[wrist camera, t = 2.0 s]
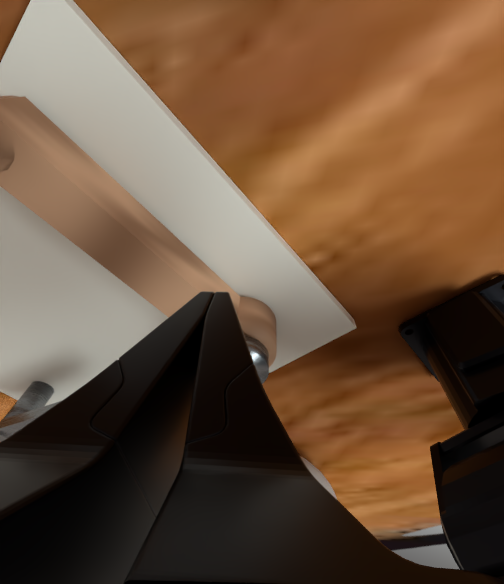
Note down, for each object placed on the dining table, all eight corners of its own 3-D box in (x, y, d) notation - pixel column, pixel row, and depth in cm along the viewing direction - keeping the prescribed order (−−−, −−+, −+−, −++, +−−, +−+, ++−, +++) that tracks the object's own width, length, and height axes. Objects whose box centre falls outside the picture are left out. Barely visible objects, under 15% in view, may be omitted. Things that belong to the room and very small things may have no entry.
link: (289, 326, 19) (291, 356, 17) (241, 354, 20) (238, 384, 18) (16, 64, 12) (-35, 62, 10) (-22, 139, 14) (-73, 150, 12)
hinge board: (353, 319, 19) (356, 327, 19) (121, 443, 30) (118, 451, 30) (56, -19, 11) (42, -25, 11) (-116, 319, 22) (-128, 326, 22)
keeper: (277, 330, 19) (278, 384, 16) (45, 398, 25) (10, 448, 22) (256, 292, 18) (252, 343, 14) (13, 374, 24) (-29, 424, 20)
